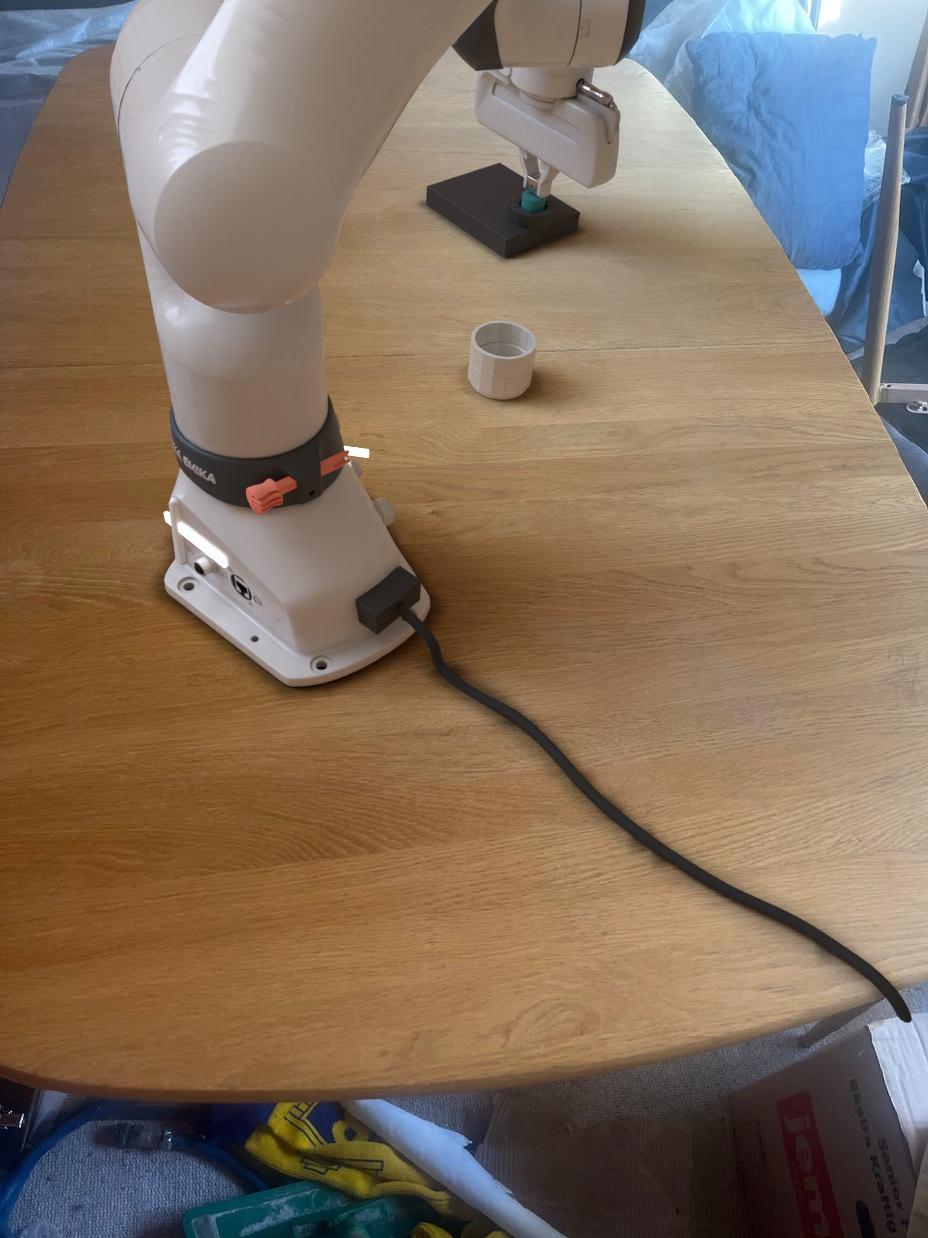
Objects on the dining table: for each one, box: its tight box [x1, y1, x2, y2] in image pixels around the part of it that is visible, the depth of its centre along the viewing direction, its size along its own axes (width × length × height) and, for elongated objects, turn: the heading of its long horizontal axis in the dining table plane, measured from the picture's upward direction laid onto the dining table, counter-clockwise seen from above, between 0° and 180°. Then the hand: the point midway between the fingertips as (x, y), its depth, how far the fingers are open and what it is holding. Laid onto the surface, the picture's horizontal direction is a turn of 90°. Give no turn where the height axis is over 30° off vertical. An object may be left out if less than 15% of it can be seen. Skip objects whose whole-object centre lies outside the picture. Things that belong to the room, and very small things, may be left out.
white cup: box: [467, 319, 538, 401], centre depth 96 cm, size 6×6×5 cm
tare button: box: [521, 190, 546, 212], centre depth 113 cm, size 3×3×2 cm
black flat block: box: [425, 162, 581, 259], centre depth 117 cm, size 16×12×4 cm
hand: (536, 191), depth 112 cm, fingers closed
